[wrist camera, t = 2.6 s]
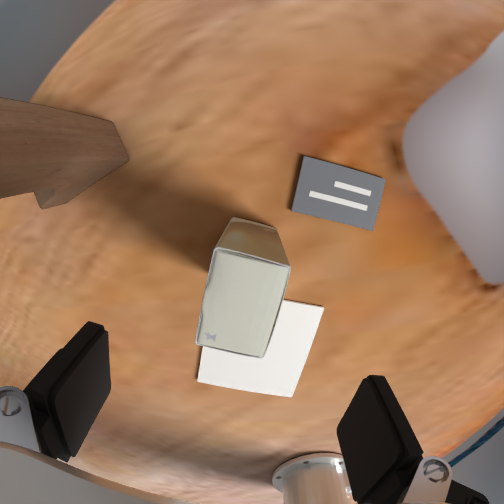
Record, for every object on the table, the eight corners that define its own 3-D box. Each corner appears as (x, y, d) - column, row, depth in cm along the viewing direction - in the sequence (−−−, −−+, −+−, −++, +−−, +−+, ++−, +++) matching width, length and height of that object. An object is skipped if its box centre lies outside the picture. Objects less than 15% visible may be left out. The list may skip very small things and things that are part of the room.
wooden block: (65, 204, 27) (-73, 250, 10) (50, 168, 26) (-89, 188, 9) (131, 159, 26) (-15, 164, 9) (114, 120, 25) (-30, 89, 8)
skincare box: (260, 288, 29) (263, 365, 18) (216, 278, 29) (192, 349, 17) (278, 224, 28) (295, 266, 16) (231, 212, 27) (213, 246, 16)
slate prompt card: (384, 179, 26) (386, 179, 26) (371, 230, 28) (373, 230, 27) (303, 156, 26) (304, 156, 26) (291, 210, 27) (291, 211, 27)
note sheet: (323, 306, 30) (324, 307, 29) (291, 395, 33) (291, 397, 33) (213, 285, 29) (213, 286, 29) (197, 379, 32) (197, 381, 32)
